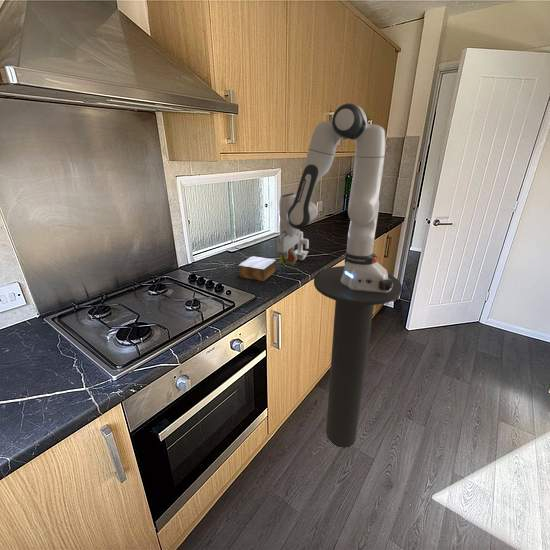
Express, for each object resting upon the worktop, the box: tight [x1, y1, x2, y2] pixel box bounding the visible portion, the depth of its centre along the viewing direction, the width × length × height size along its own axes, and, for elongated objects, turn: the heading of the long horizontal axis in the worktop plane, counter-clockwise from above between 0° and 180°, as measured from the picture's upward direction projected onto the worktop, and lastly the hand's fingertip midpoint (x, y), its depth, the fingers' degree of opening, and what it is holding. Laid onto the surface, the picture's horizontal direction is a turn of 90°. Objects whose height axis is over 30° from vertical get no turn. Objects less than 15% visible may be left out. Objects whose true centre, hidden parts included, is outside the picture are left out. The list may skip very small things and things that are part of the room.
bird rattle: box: [278, 249, 298, 267], centre depth 143 cm, size 6×11×9 cm
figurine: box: [293, 230, 310, 261], centre depth 158 cm, size 7×9×15 cm
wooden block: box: [237, 255, 277, 282], centre depth 141 cm, size 14×14×6 cm
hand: (289, 256), depth 144 cm, fingers closed on bird rattle, 4 cm apart
